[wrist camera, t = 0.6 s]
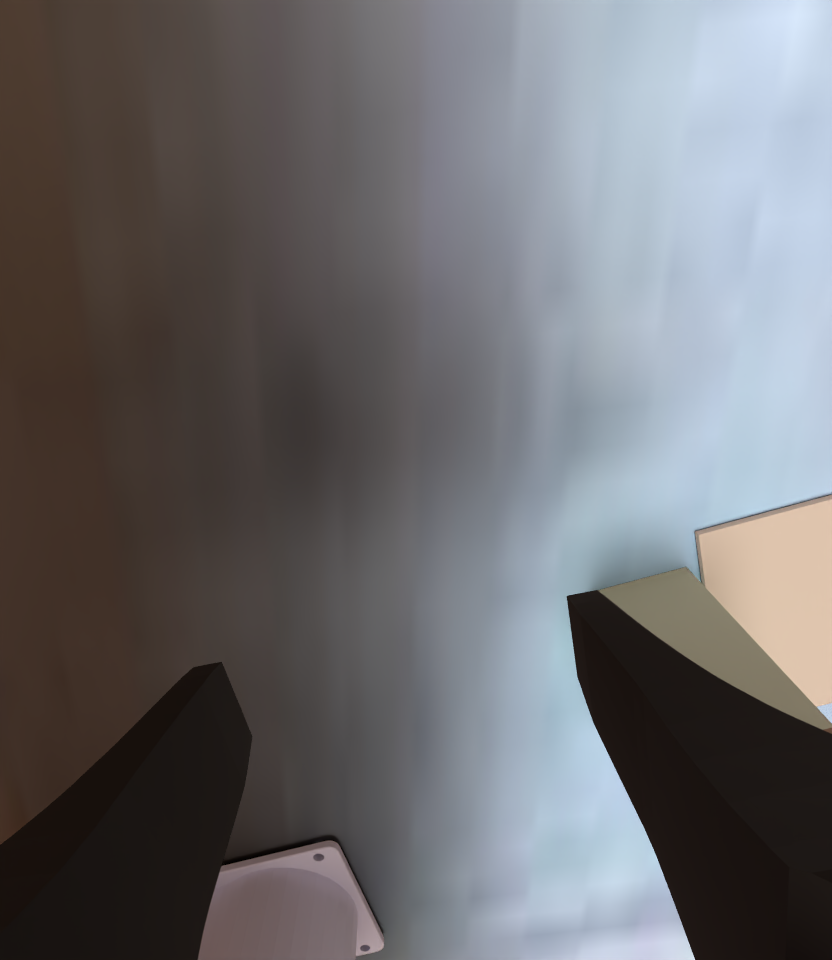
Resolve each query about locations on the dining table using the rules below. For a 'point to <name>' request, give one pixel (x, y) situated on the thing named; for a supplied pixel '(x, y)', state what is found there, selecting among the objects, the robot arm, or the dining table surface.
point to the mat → (779, 586)
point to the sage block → (711, 639)
